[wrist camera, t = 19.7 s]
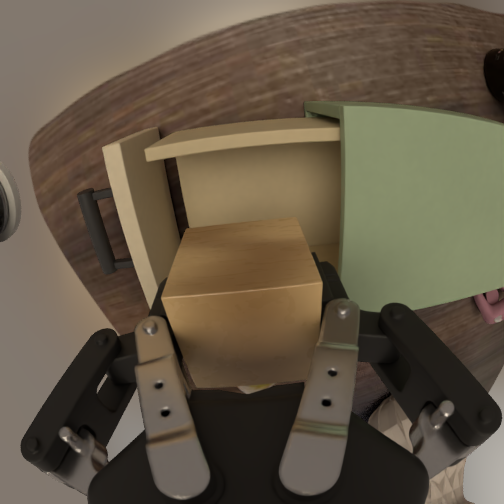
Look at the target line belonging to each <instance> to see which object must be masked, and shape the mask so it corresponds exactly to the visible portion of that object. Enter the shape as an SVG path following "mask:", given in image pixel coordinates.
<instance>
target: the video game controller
mask: <svg viewBox="0 0 504 504" xmlns="http://www.w3.org/2000/svg"><path fill="white" fill-rule="evenodd" d="M500 289H501V290H502V291H503V292H504V287H502V288H500ZM498 298H499V294H498V291H497V289H495V290H492V291H489V292H486V293H485V298H484V296H483V294H482V293H481V294H478V295H474V300H475V302H476V304H477V306H478V308H479V310H480V312H481V314H482V316H483V319H484V321H485V322H486V323H488V324H494V323H496V322H500V321H502V320H504V298H503V299H502V300H500V301H499V302H498Z"/></svg>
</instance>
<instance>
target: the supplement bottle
mask: <svg viewBox="0 0 504 504" xmlns="http://www.w3.org/2000/svg"><path fill="white" fill-rule="evenodd" d="M485 75H486V79H487V83H488V85H489V88H490V90H491V91H492V93H493V94H494V96H495V97H496V98H497V99H498V100H499V101H500V102H502V103H504V49H493V50H491V51H490V52H489V53H488V54H487V56H486V59H485Z"/></svg>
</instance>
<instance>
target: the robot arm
mask: <svg viewBox="0 0 504 504" xmlns="http://www.w3.org/2000/svg"><path fill="white" fill-rule="evenodd" d="M8 220H9V204H8V199H7V195H6V192H5V190H4V188H3V185H2V184H1V182H0V234H1V233H2V232H3V231H4V230H5V228H6V227H7V224H8ZM311 254H312V256H313V259H314V261H315V264H316V266H317V269H318V272H319V274H320V277H321V279H322V282H323V289H322V308H321V323H320V335H319V339H318V342H316V344H315V348H314V353H313V357H312V361H311V365H310V369H309V373H308V376H307V380H306V384H305V386H304V382H301V383H293V384H285V385H276V386H273V387H270V388H266V389H263V390H260V391H256V392H253V393H250V394H241V393H234V392H228V391H222V390H192V389H191V386H190V383H189V380H188V377H187V374H186V371H185V368H184V365H183V362H182V359H183V355H182V353H181V350H180V348H179V345H178V343H177V340H176V338H175V335H174V332H173V330H172V327H171V325H170V322H169V319H168V316H167V314H166V311H165V308H164V305H163V303H162V300H161V296H162V293H163V290H164V287H165V284H166V281H167V279H168V277H166V278H165V279H164V280H163V281H162V282H161V283H160V285H159V287H158V290H157V293H156V296H155V298H154V301H153V304H152V307H151V310H150V313H149V315H148V317H146V318H144V319H142V320H141V321H140V322H139V323H138V324H137V325H136V327H135V330H134V332H132V333H128V334H125V335H121V336H117V334H116V332H115V331H114V330H112V329H108V328H106V329H101V330H99V331H97V332H95V333H94V334H93V335H92V336H91V337H90V338H89V340H88V341H87V342H86V344H85V345H84V346H83V348H82V349H81V351H80V352H79V353H78V355H77V356H76V358H75V359H74V360H73V362H72V363H71V365H70V366H69V367H68V369H67V370H66V372H65V373H64V375H63V376H62V378H61V379H60V380H59V382H58V383H57V385H56V386H55V388H54V389H53V391H52V392H51V394H50V395H49V397H48V398H47V400H46V402H45V403H44V404H43V406H42V408H41V409H40V411H39V412H38V414H37V416H36V417H35V419H34V421H33V422H32V424H31V426H30V427H29V429H28V430H27V432H26V434H25V435H24V437H23V439H22V441H21V453H22V455H23V457H24V458H25V459H26V460H27V461H29V462H31V463H32V464H33V465H35V466H36V467H38V468H39V469H40V470H41V471H42V472H44V473H45V474H47V475H48V476H50V477H52V478H53V479H55V480H57V481H59V482H61V483H63V484H65V485H67V486H69V487H71V488H73V489H76V490H77V491H79V492H81V493H82V494H84V495H86V496H87V499H88V504H425V502H426V498H427V495H428V491H429V480H430V479H432V478H433V477H435V476H436V475H437V474H439V473H440V472H442V471H443V470H444V469H446V468H447V467H452V466H455V465H457V464H458V463H459V462H461V461H462V460H463V459H464V458H466V457H467V456H468V455H469V454H471V453H472V452H473V451H474V450H475V449H477V448H478V447H479V446H480V445H481V444H482V443H484V442H485V441H486V440H487V439H488V438H489V437H490V436H491V435H492V434H493V433H495V432H496V431H497V430H498V428H499V427H500V425H501V421H502V413H501V410H500V408H499V406H498V405H497V403H496V402H495V401H494V400H493V399H492V397H491V396H490V395H489V394H488V393H487V391H486V390H485V389H484V388H483V387H482V385H481V384H480V383H479V382H478V381H477V380H476V378H475V377H474V376H473V375H472V374H471V373H470V372H469V370H468V369H467V368H466V367H465V366H464V365H463V364H462V363H461V361H460V360H459V359H458V358H457V357H456V356H455V355H454V354H453V353H452V352H451V350H450V349H449V348H448V347H447V346H446V345H445V344H444V343H443V342H442V341H441V340H440V339H439V338H438V337H437V336H436V334H435V333H434V332H433V331H432V330H431V329H430V328H429V327H428V326H427V325H426V324H425V323H424V322H423V321H422V320H421V319H420V318H419V317H418V316H417V315H416V314H415V313H414V312H413V311H412V310H411V309H410V308H409V307H408V306H406V305H404V304H401V303H388V304H386V305H384V306H383V307H382V309H381V311H380V312H370V311H364V310H361V309H360V308H359V306H358V304H357V303H355V302H354V301H352V300H349V297H348V295H347V293H346V291H345V289H344V287H343V284H342V282H341V281H340V278H339V276H338V274H337V272H336V269H335V267H334V266H333V265H331V264H330V263H329V262H328V261H324V262H319V260H318V257H317V255H316V253H315V252H311ZM358 361H360V362H370V364H371V366H372V367H373V369H374V370H375V371H376V373H377V374H378V376H379V377H380V378H381V380H382V381H383V383H384V384H385V386H386V387H387V388H388V390H389V391H390V393H391V394H392V395H393V397H394V398H395V400H396V401H397V403H398V404H399V406H400V407H401V408H402V410H403V411H404V413H405V414H406V416H407V417H408V419H409V420H410V421H411V423H412V425H411V427H410V430H409V439H410V441H411V443H412V447H413V453H411V452H410V451H408V450H407V449H405V448H404V447H402V446H401V445H399V444H398V443H396V442H395V441H393V440H392V439H390V438H389V437H387V436H386V435H384V434H383V433H381V432H380V431H378V430H377V429H376V428H374V427H373V426H371V425H370V424H368V423H367V422H366V421H364V420H363V419H361V418H360V417H359V416H357V415H356V414H354V413H353V412H352V411H351V408H352V402H353V395H354V387H355V379H356V371H357V362H358ZM105 374H107V376H108V377H107V378H106V380H105V382H104V383H103V385H102V387H101V388H100V390H99V392H98V393H97V387H98V385H99V383H100V382H101V380H102V379H103V377H104V375H105ZM136 388H137V389H138V395H139V401H140V407H141V412H142V418H143V423H144V428H145V430H144V431H143V432H142V433H141V434H140V435H138V436H137V437H136V438H135V439H134V440H133V441H132V442H131V443H130V444H129V445H128V446H127V447H125V448H124V449H123V450H122V451H121V452H120V453H119V454H118V455H117V456H116V457H114V458H113V459H112V460H111V461H110V462H108V459H107V458H108V453H107V449H106V446H107V444H108V442H109V440H110V438H111V436H112V434H113V432H114V430H115V429H116V427H117V425H118V423H119V421H120V419H121V417H122V415H123V413H124V411H125V409H126V407H127V405H128V403H129V402H130V400H131V398H132V396H133V394H134V392H135V390H136Z"/></svg>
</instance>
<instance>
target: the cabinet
mask: <svg viewBox="0 0 504 504" xmlns="http://www.w3.org/2000/svg"><path fill="white" fill-rule="evenodd" d="M304 112H305V117H334V118H338V119H340V139H341V215H340V241H339V259H338V276H339V278H340V281H341V282H342V284H343V287H344V289H345V291H346V293H347V295H348V297H349V300H352V301H354V302H355V303H357V304H358V306H359V308H360V309H361V310H364V311H370V312H380V311H381V309H382V307H383V306H384V305H386V304H388V303H401V304H404V305H406V306H408V307H409V308H410V309H411V310H417V309H421V308H426V307H430V306H435V305H439V304H443V303H447V302H451V301H455V300H459V299H463V298H467V297H471V296H474V295H478V294H481V293H485V292H489V291H492V290H495V289H499V288H502V287H504V123H500V122H497V121H493V120H490V119H486V118H482V117H478V116H474V115H470V114H465V113H459V112H454V111H448V110H441V109H435V108H427V107H420V106H411V105H401V104H390V103H375V102H352V101H306V102H304Z"/></svg>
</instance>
